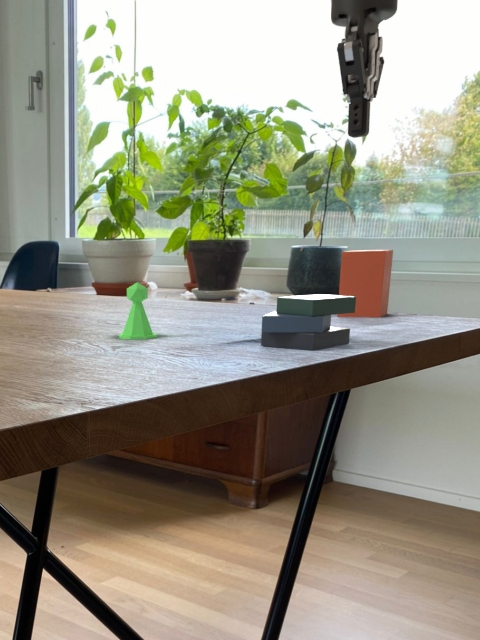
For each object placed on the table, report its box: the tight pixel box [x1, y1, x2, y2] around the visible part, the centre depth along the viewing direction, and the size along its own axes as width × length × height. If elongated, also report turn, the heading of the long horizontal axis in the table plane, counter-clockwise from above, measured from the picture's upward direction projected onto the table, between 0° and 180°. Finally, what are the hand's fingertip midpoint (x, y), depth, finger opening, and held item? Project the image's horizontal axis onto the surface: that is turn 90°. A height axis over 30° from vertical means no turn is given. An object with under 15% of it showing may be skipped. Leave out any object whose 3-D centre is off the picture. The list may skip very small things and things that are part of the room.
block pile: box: [260, 293, 356, 351], centre depth 80 cm, size 8×8×4 cm
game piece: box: [118, 281, 158, 340], centre depth 86 cm, size 4×4×6 cm
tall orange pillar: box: [336, 249, 394, 318], centre depth 101 cm, size 5×5×8 cm
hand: (358, 136), depth 102 cm, fingers closed
